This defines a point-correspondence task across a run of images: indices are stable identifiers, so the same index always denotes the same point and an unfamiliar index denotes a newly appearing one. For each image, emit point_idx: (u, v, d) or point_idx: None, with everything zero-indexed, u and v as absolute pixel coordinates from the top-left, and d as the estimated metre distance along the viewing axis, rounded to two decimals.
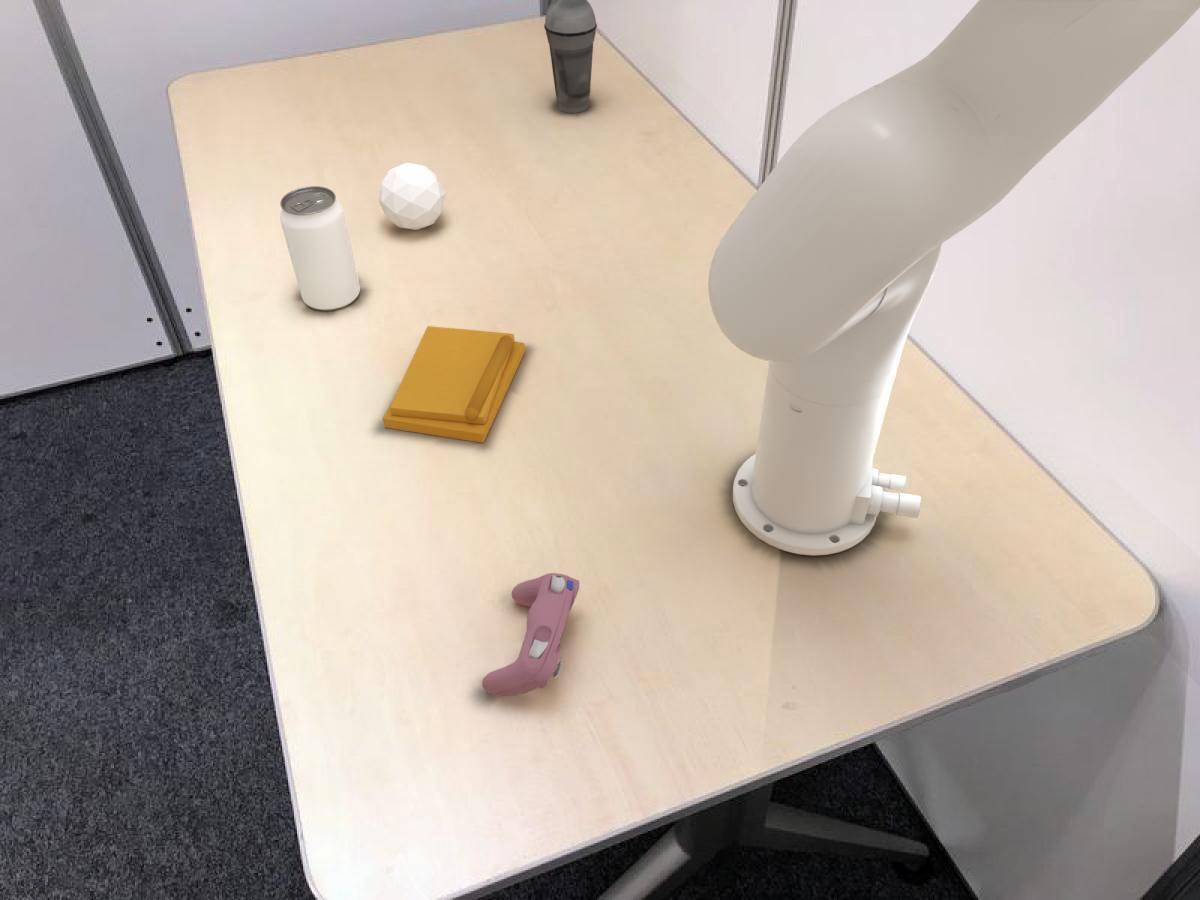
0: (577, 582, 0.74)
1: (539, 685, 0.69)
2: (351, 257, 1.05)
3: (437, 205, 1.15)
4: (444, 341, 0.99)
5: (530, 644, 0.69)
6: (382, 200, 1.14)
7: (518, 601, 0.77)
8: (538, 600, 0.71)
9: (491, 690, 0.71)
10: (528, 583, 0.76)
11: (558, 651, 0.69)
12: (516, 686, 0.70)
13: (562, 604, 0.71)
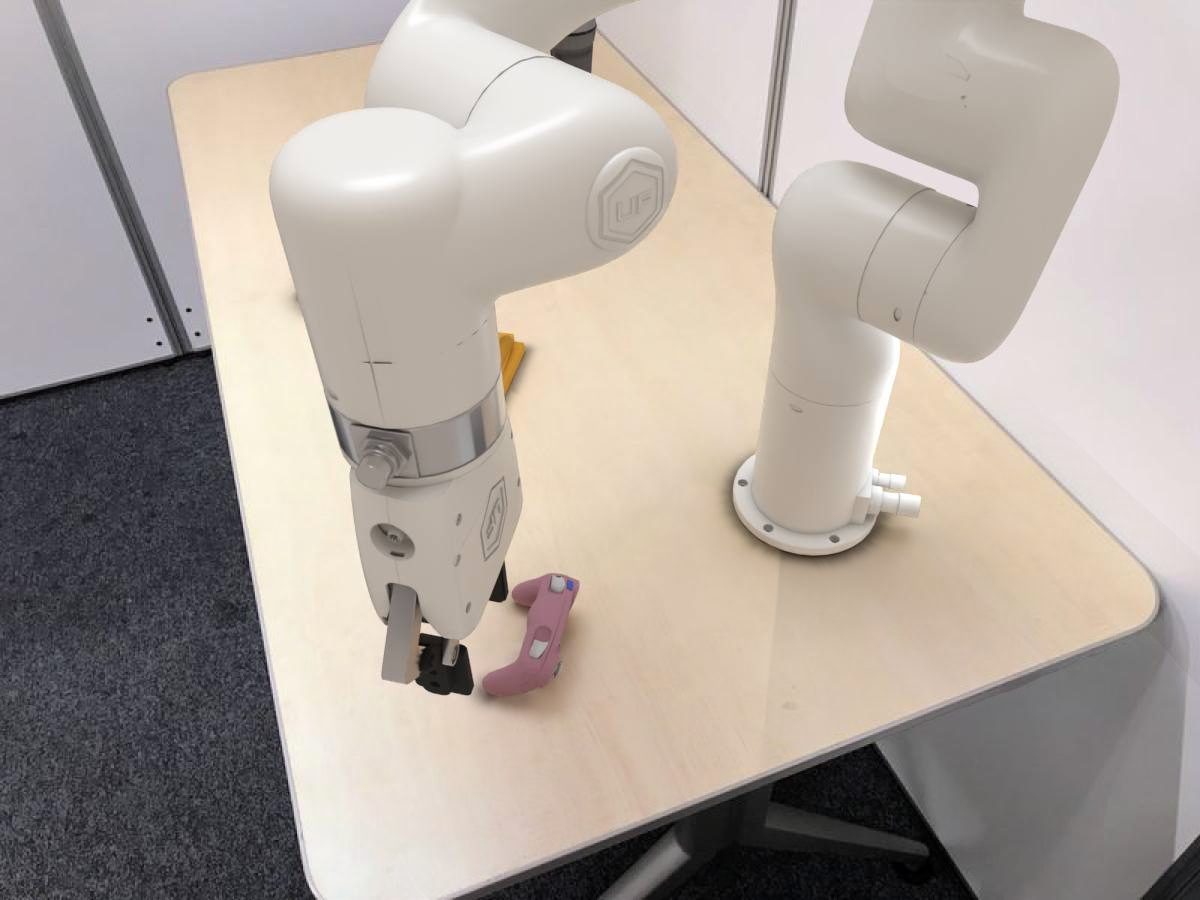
0: (577, 582, 0.74)
1: (539, 685, 0.69)
2: None
3: None
4: None
5: (530, 644, 0.69)
6: None
7: (518, 601, 0.77)
8: (538, 600, 0.71)
9: (491, 690, 0.71)
10: (528, 583, 0.76)
11: (558, 651, 0.69)
12: (516, 686, 0.70)
13: (562, 604, 0.71)
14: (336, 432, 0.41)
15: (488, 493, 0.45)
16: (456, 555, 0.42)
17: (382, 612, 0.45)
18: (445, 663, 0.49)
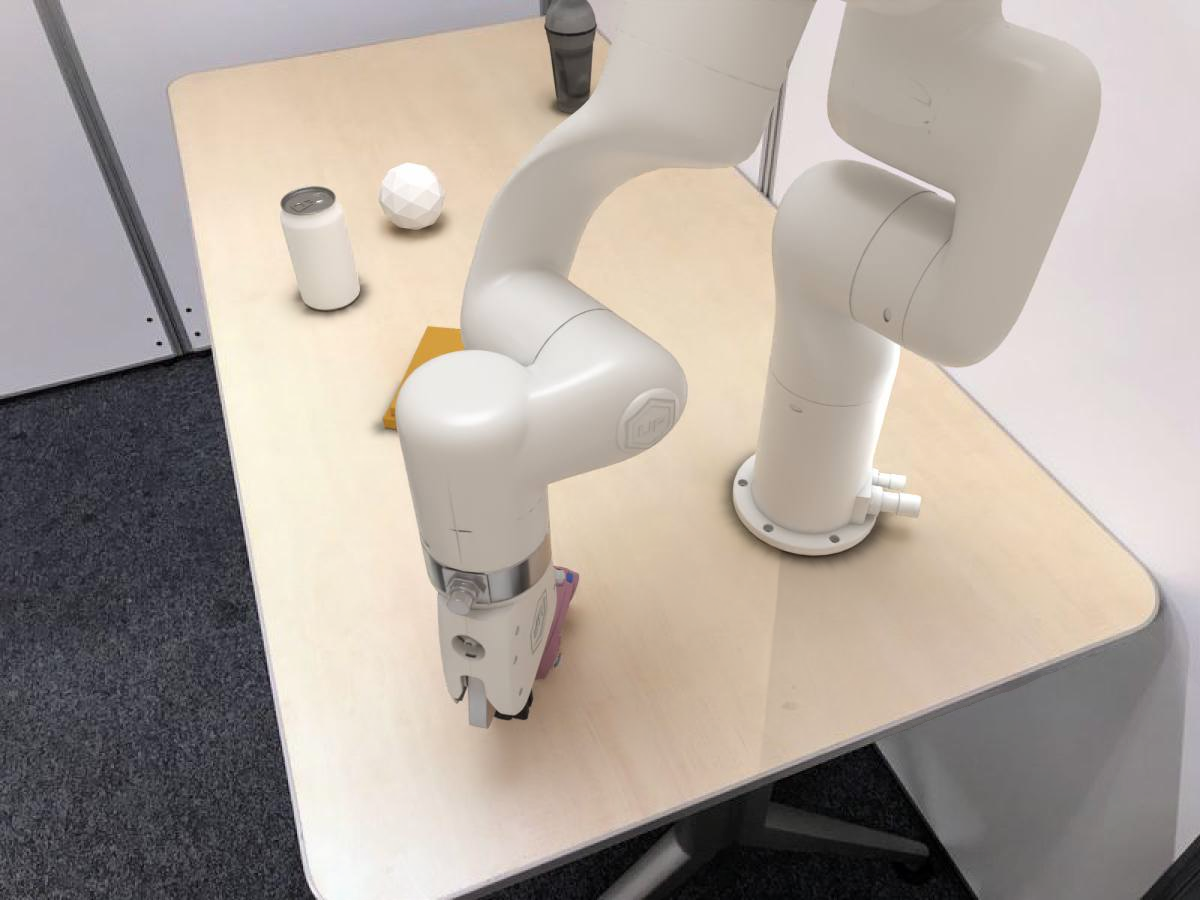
0: (577, 575, 0.74)
1: (540, 676, 0.70)
2: (351, 257, 1.05)
3: (437, 205, 1.15)
4: (444, 341, 0.99)
5: None
6: (382, 200, 1.14)
7: None
8: None
9: None
10: None
11: (558, 643, 0.70)
12: None
13: (562, 596, 0.72)
14: (428, 568, 0.56)
15: (536, 605, 0.59)
16: (514, 656, 0.57)
17: (455, 695, 0.60)
18: None
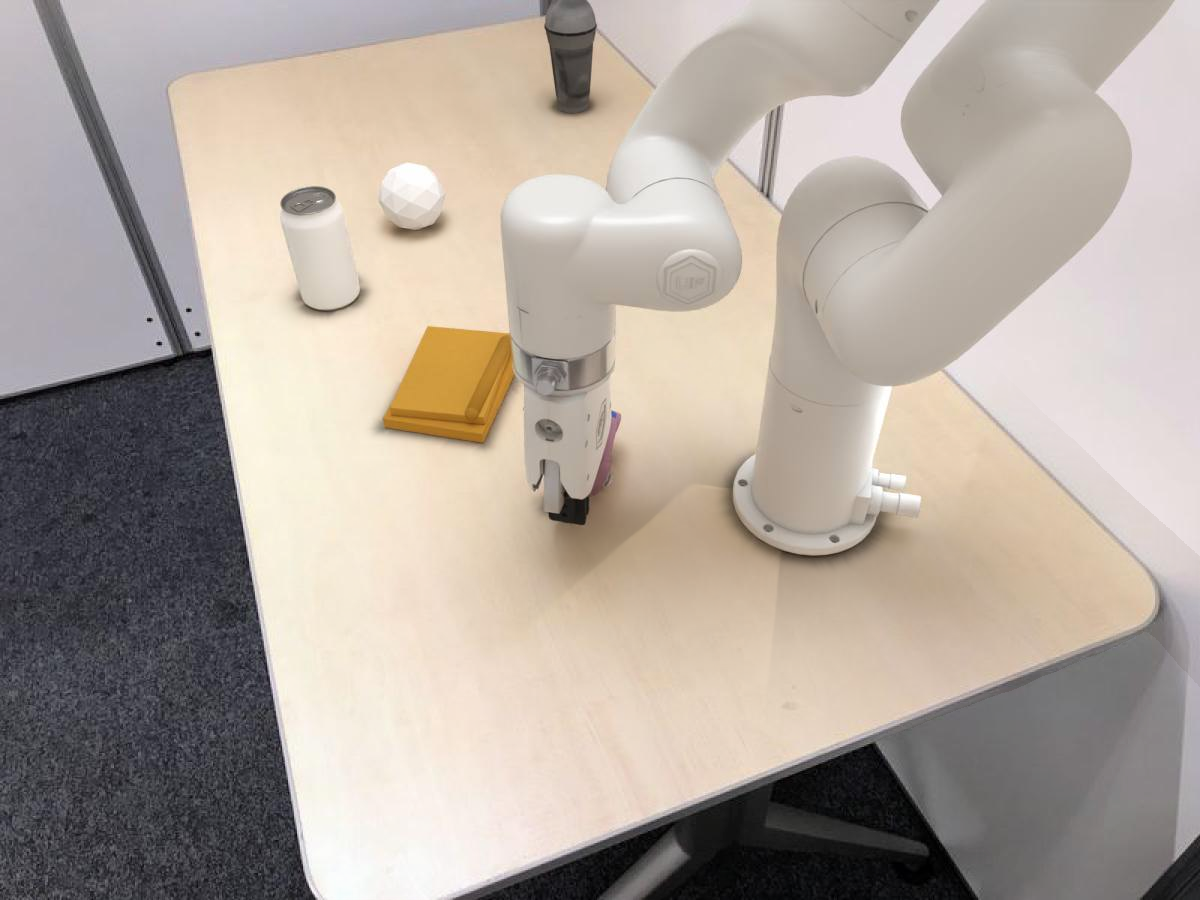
0: (619, 413, 0.87)
1: (594, 491, 0.83)
2: (351, 257, 1.05)
3: (437, 205, 1.15)
4: (444, 341, 0.99)
5: None
6: (382, 200, 1.14)
7: None
8: None
9: None
10: None
11: (609, 462, 0.83)
12: None
13: None
14: (516, 364, 0.68)
15: (600, 405, 0.72)
16: (586, 440, 0.70)
17: (533, 481, 0.73)
18: None
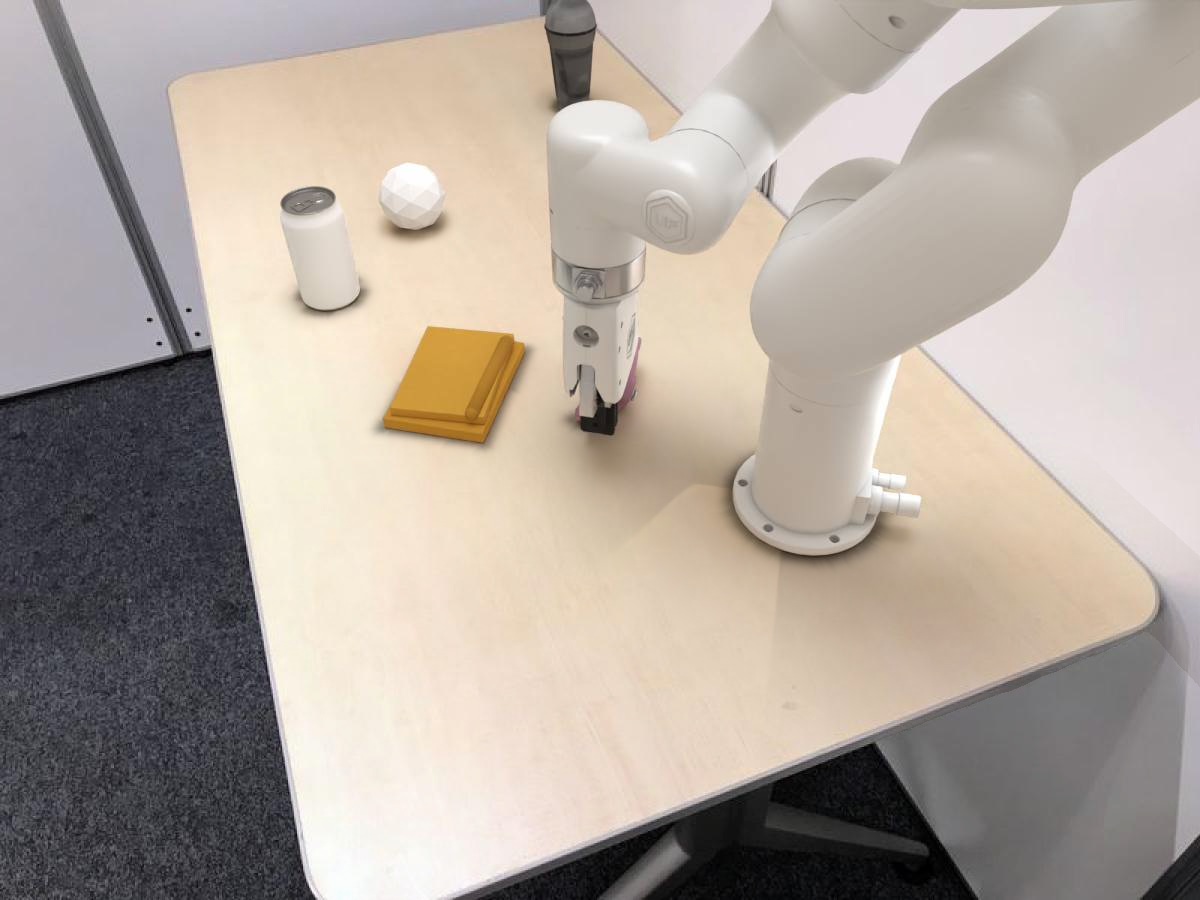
0: (639, 337, 0.95)
1: (622, 405, 0.90)
2: (351, 257, 1.05)
3: (437, 205, 1.15)
4: (444, 341, 0.99)
5: None
6: (382, 200, 1.14)
7: None
8: None
9: None
10: None
11: (634, 378, 0.91)
12: None
13: None
14: (557, 276, 0.76)
15: (631, 317, 0.80)
16: (619, 346, 0.77)
17: (570, 386, 0.80)
18: (606, 407, 0.86)
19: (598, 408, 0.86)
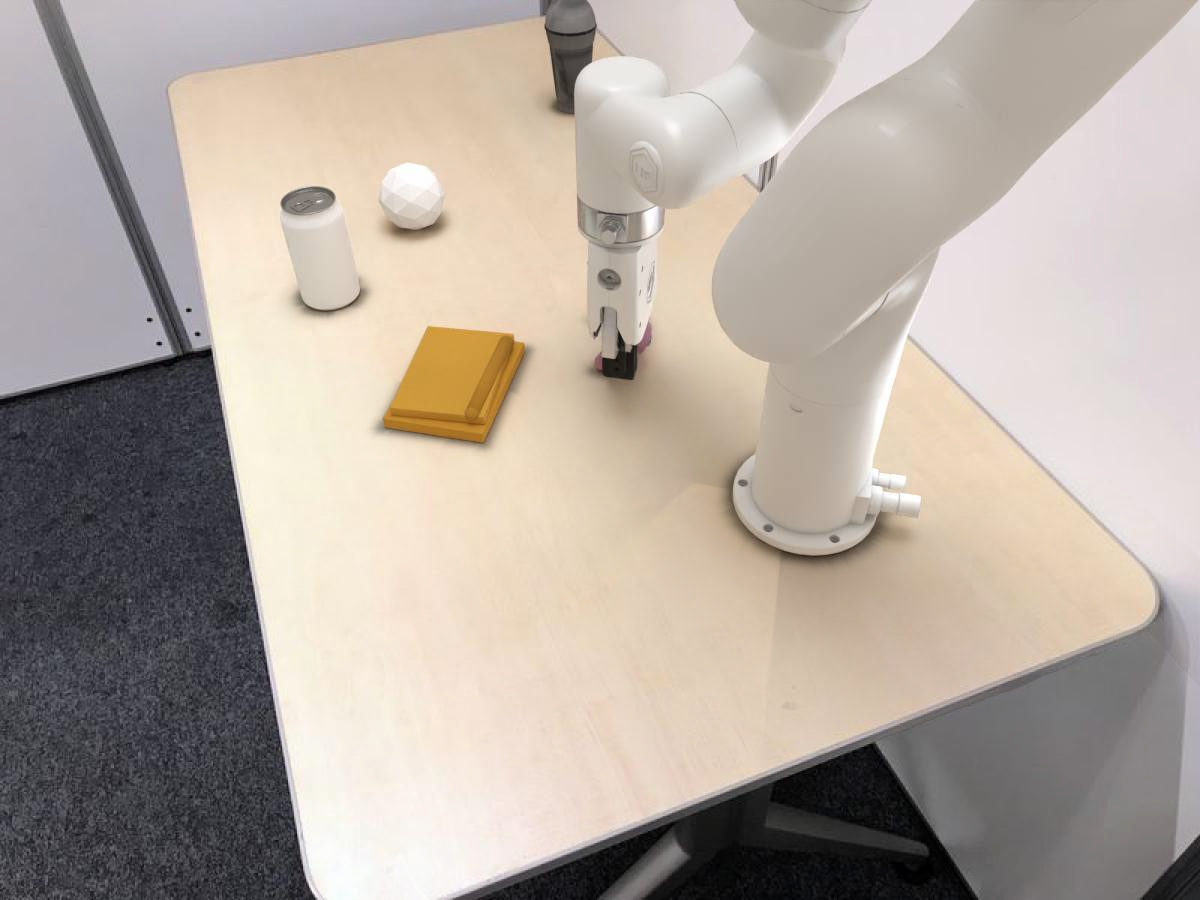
0: None
1: (641, 350, 0.96)
2: (351, 257, 1.05)
3: (437, 205, 1.15)
4: (444, 341, 0.99)
5: None
6: (382, 200, 1.14)
7: None
8: None
9: None
10: None
11: (649, 324, 0.96)
12: None
13: None
14: (582, 222, 0.82)
15: (651, 264, 0.86)
16: (639, 289, 0.83)
17: (594, 328, 0.86)
18: (626, 351, 0.92)
19: (619, 353, 0.92)
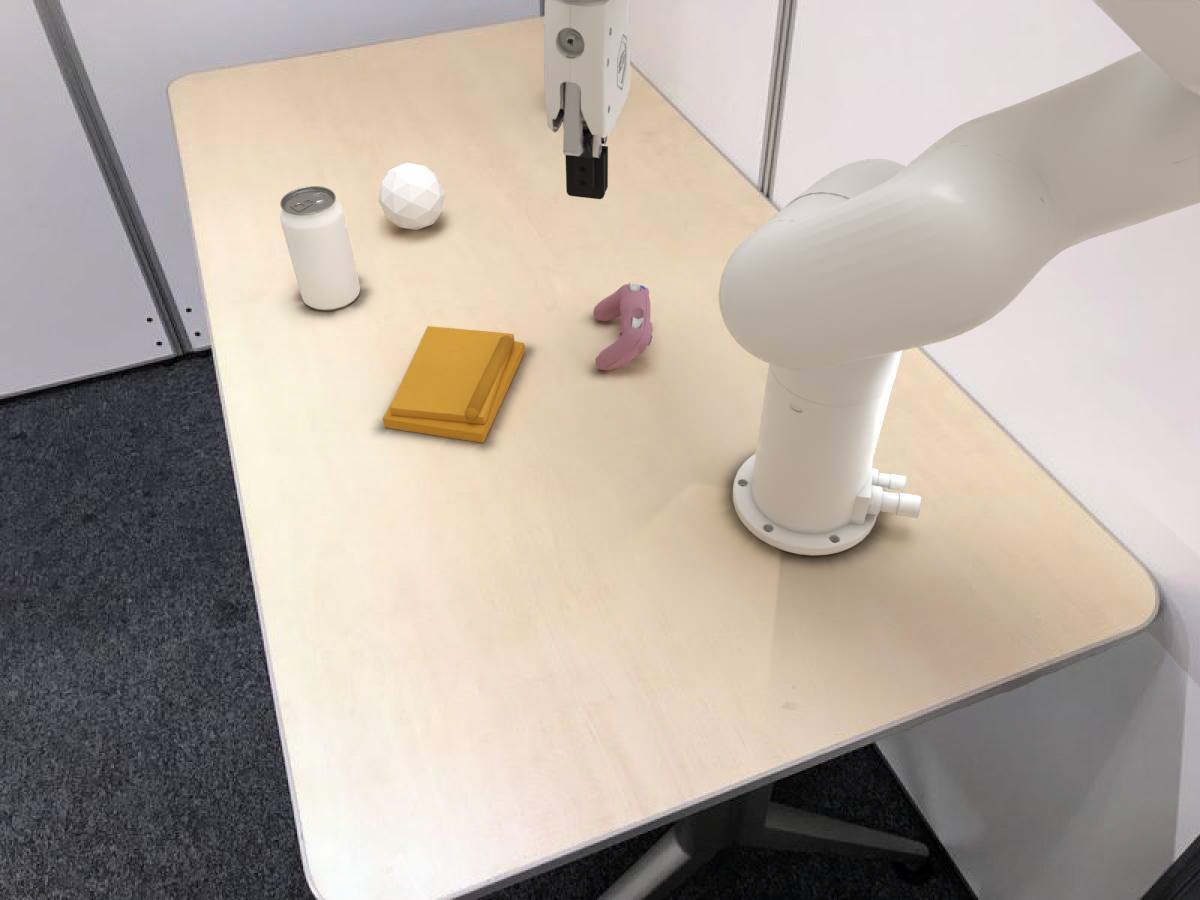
0: None
1: (641, 349, 0.96)
2: (351, 257, 1.05)
3: (437, 205, 1.15)
4: (444, 341, 0.99)
5: (630, 321, 0.96)
6: (382, 200, 1.14)
7: (599, 317, 1.04)
8: (626, 296, 0.98)
9: (604, 364, 0.97)
10: (608, 298, 1.02)
11: (650, 323, 0.96)
12: (624, 353, 0.96)
13: (644, 295, 0.98)
14: None
15: (621, 35, 0.71)
16: (607, 57, 0.68)
17: (553, 114, 0.71)
18: (594, 157, 0.77)
19: (585, 160, 0.77)
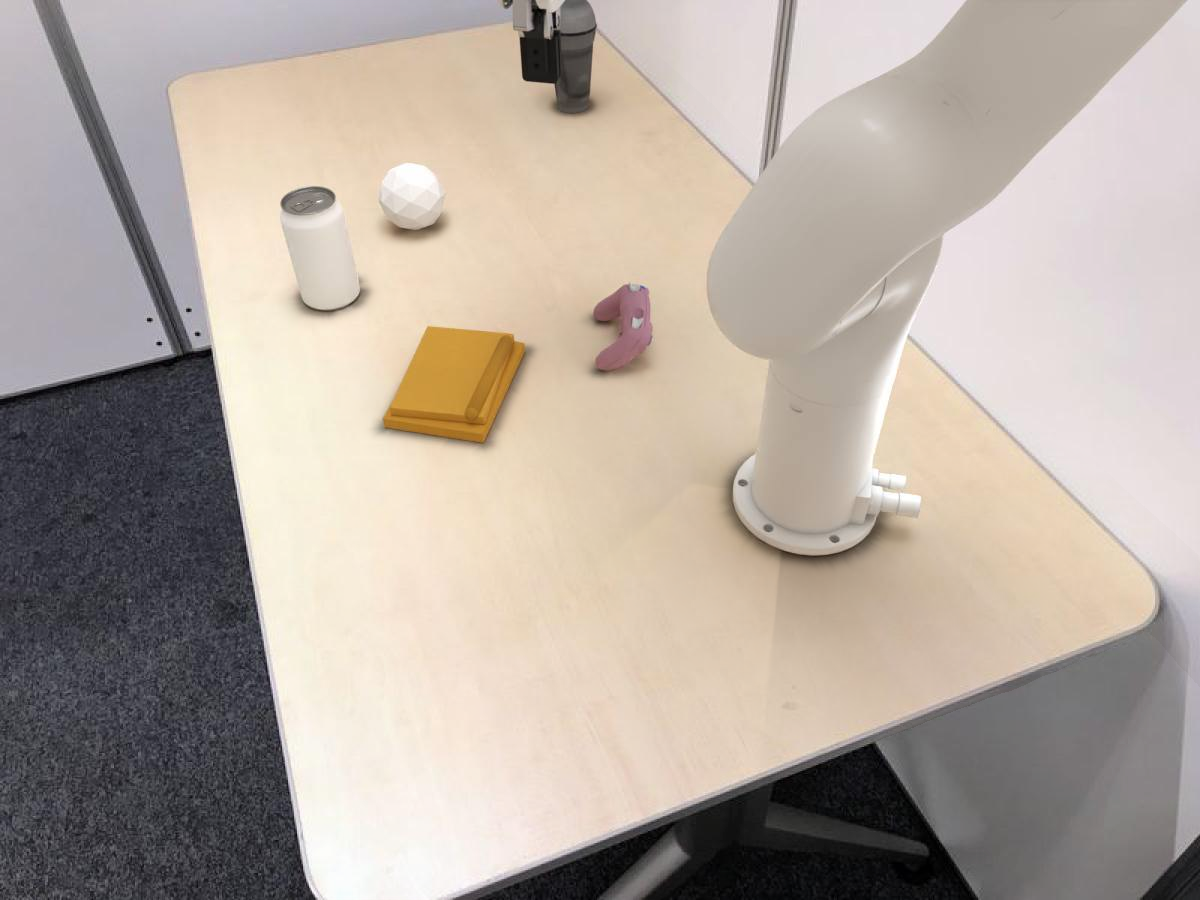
0: None
1: (641, 349, 0.96)
2: (351, 257, 1.05)
3: (437, 205, 1.15)
4: (444, 341, 0.99)
5: (630, 321, 0.96)
6: (382, 200, 1.14)
7: (599, 317, 1.04)
8: (626, 296, 0.98)
9: (604, 364, 0.97)
10: (608, 298, 1.02)
11: (650, 323, 0.96)
12: (624, 353, 0.96)
13: (644, 295, 0.98)
14: None
15: None
16: None
17: None
18: (546, 38, 0.80)
19: (538, 41, 0.81)
